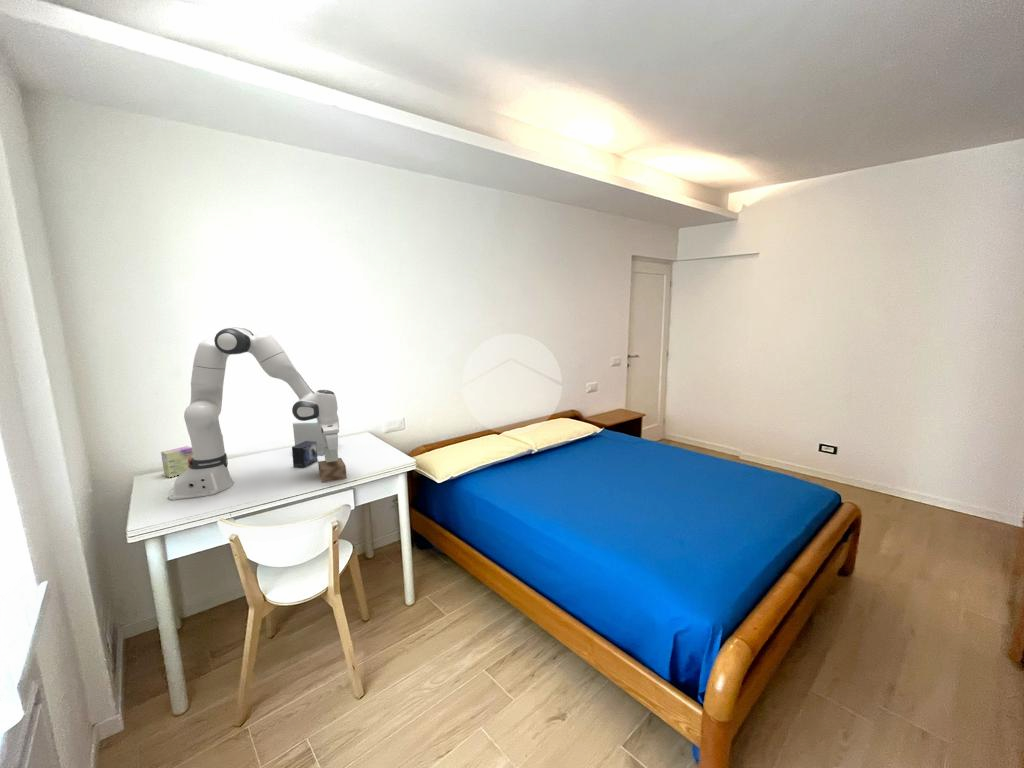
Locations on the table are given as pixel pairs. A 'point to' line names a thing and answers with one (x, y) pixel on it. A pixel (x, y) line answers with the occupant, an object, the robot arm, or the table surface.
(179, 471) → the box
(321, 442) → the supplement box
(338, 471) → the walnut block
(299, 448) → the small box
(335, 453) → the sage block
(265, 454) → the table surface
